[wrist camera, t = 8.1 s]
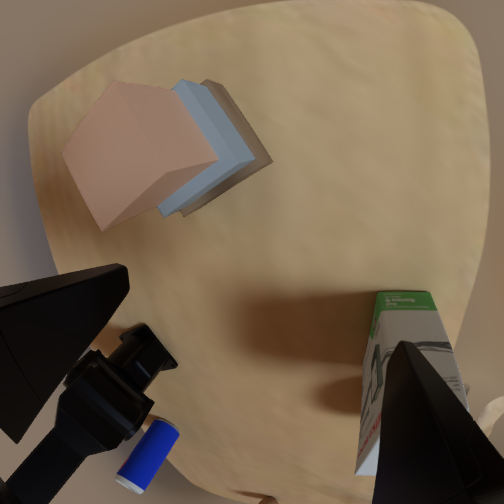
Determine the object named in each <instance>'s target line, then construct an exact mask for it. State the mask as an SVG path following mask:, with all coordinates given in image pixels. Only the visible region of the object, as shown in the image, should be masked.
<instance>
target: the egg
mask: <svg viewBox="0 0 504 504" xmlns="http://www.w3.org/2000/svg"><path fill="white" fill-rule="evenodd" d="M259 504H278V502H277V500H276V499H275V498H273V497H267V498H265V499H263V500H261V501H260V502H259Z"/></svg>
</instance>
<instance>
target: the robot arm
mask: <svg viewBox="0 0 504 504" xmlns="http://www.w3.org/2000/svg"><path fill="white" fill-rule="evenodd" d="M129 289H130V284H129V276H128V269H127V267H126V266H124V265H121V264H118V263H115V264H110V265H105V266H100V267H95V268H90V269H85V270H80V271H75V272H71V273H66V274H61V275H57V276H52V277H47V278H42V279H38V280H34V281H30V282H24V283H19V284H14V285H9V286H3V287H0V428H1V429H2V430H3V431H4V432H5V433H6V434H7V435H8V436H9V437H10V438H11V439H12V440H13V441H14V442H15V443H16V444H18V443H19V442H20V440H21V439H22V437H23V436H24V434H25V433H26V431H27V430H28V428H29V426H30V425H31V424H32V422H33V421H34V419H35V418H36V416H37V415H38V413H39V412H40V410H41V409H42V408H43V406H44V404H45V403H46V401H47V400H48V399H49V397H50V396H51V395H52V393H53V392H54V391H55V389H56V388H57V386H58V385H59V384H60V382H61V381H62V380H63V378H64V377H65V376H66V374H67V377H66V378H65V379H66V380H65V381H64V383H63V385H64V386H65V387H66V390H65V391H64V392H63V393H62V394H61V395H60V397H59V400H58V403H57V410H56V417H55V425H54V428H53V429H52V430H51V431H50V432H49V433H48V434H47V435H46V436H45V438H44V439H43V440H42V441H41V442H40V443H39V444H38V445H37V447H36V448H35V449H34V450H33V451H32V452H31V453H30V455H29V456H28V457H27V458H26V459H25V460H24V461H23V462H22V464H21V465H20V466H19V467H18V468H17V470H16V471H15V472H14V473H13V474H12V475H11V476H10V478H9V479H8V480H7V481H6V482H4V481H3V480H2V479H1V478H0V504H49V503H50V501H51V500H52V499H53V498H54V496H55V495H56V494H57V493H58V492H59V490H60V489H61V488H62V487H63V485H64V484H65V483H66V482H67V480H68V479H69V478H70V477H71V476H72V474H73V473H74V472H75V471H76V469H77V468H78V467H79V466H80V464H81V463H82V462H83V461H84V460H85V458H86V457H87V456H89V455H93V454H97V453H100V452H104V451H109V450H112V449H115V448H117V447H118V445H119V444H120V443H121V442H122V441H123V440H124V441H127V440H129V439H130V438H131V437H132V436H133V435H134V434H135V433H136V432H137V431H138V430H139V428H140V427H141V425H142V424H143V422H144V420H145V419H146V417H147V415H148V413H149V412H150V410H151V408H152V406H153V405H154V403H155V402H154V401H153V400H152V399H149V398H148V397H147V396H146V395H145V394H144V391H145V390H146V389H147V388H148V386H149V385H150V384H151V382H152V381H153V380H154V379H155V377H156V376H157V375H158V374H159V372H160V371H164V370H169V369H174V368H176V367H177V366H178V364H177V362H176V361H175V360H174V359H173V357H172V356H171V355H170V354H169V353H168V351H167V350H166V349H165V348H164V346H163V345H162V344H161V343H160V342H159V340H158V339H157V338H156V336H155V335H154V334H153V333H152V331H151V330H150V329H149V327H148V326H146V325H142V326H140V327H137V328H135V329H132V330H130V331H128V332H125V333H123V334H121V335H120V336H119V338H120V339H121V341H122V342H123V343H122V344H121V345H120V346H119V347H118V348H117V349H116V350H115V351H114V352H113V353H112V354H111V355H110V356H109V357H108V358H106V357H105V356H104V355H103V354H102V352H101V351H100V350H99V349H98V350H97V351H93V350H90V351H89V352H88V353H87V354H86V355H85V356H83V357H82V358H81V359H80V360H78V359H79V358H80V356H81V355H82V354H83V352H84V351H85V350H86V349H87V348H88V346H89V345H90V344H91V343H92V341H93V340H94V339H95V338H96V336H97V335H98V334H99V333H100V332H101V330H102V329H103V328H104V327H105V325H106V324H107V323H108V321H109V320H110V319H111V317H112V316H113V314H114V313H115V311H116V310H117V308H118V307H119V305H120V304H121V303H122V301H123V300H124V298H125V297H126V295H127V294H128V292H129ZM77 360H78V361H77ZM76 361H77V362H76ZM372 504H504V458H503V457H502V456H501V455H500V454H499V452H498V451H497V450H496V448H495V447H494V446H493V445H492V444H491V442H490V441H489V440H488V438H487V437H486V435H485V434H484V433H483V431H482V430H481V429H480V427H479V426H478V424H477V423H476V422H475V421H473V418H472V416H471V415H470V414H469V412H468V411H467V409H466V408H465V407H464V405H463V404H462V403H461V401H460V400H459V399H458V398H457V396H456V395H455V394H454V392H453V391H452V390H451V388H450V387H449V386H448V385H447V383H446V382H445V381H444V380H443V378H442V377H441V376H440V375H439V373H438V372H437V371H436V370H435V368H434V367H433V366H432V365H431V364H430V362H429V361H428V360H427V359H426V357H425V356H424V355H423V354H422V353H421V351H420V350H419V349H418V348H417V347H416V346H415V344H414V343H413V342H409V341H404V340H401V341H399V342H398V344H397V346H396V347H395V349H394V351H393V353H392V355H391V356H390V358H389V360H388V363H387V368H386V377H385V386H384V394H383V401H382V409H381V426H380V442H379V454H378V463H377V472H376V480H375V487H374V493H373V500H372Z"/></svg>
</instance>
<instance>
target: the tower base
mask: <svg viewBox="0 0 504 504" xmlns="http://www.w3.org/2000/svg"><path fill="white" fill-rule="evenodd" d="M201 85H204V86H206V87H207V88H208V90H209V91H210V92H211V94H212V95H213V97H214V98H215V99H216V101H217V102H218V104H219V105H220V107H221V108H222V109H223V111H224V112H225V114H226V115H227V117H228V118H229V120H230V121H231V123H232V124H233V125H234V127H235V128H236V130H237V131H238V133H239V134H240V136H241V137H242V139H243V140H244V142H245V143H246V145H247V146H248V148H249V150H250V151H251V153H252V154H253V156H254V157H255V160H254V161H252V162H250V163H249V164H247V165H246V166H244V167H243V168H241V169H240V170H238V171H237V172H235V173H234V174H232V175H231V176H229V177H228V178H227V179H225V180H224V181H222V182H221V183H219V184H218V185H216V186H215V187H214V188H212V189H211V190H209V191H208V192H206V193H205V194H204V195H202V196H201V197H199V198H198V199H197V200H195V201H194V202H193V203H191V204H190V205H188V206H187V207H185V208H183V209H181V210H180V211H181V213H182V215H183V216H184V217H185V216H187V215H189V214H190V213H192V212H194V211H196V210H198V209H200V208H201V207H203V206H204V205H206V204H207V203H209V202H210V201H212V200H213V199H215V198H216V197H218V196H219V195H221V194H223V193H224V192H226V191H227V190H229V189H230V188H232V187H233V186H235V185H237V184H238V183H240V182H241V181H243V180H245V179H246V178H248V177H249V176H251V175H253V174H254V173H256V172H257V171H259V170H261V169H262V168H264V167H266V166H267V165H269V164H271V163H272V162H273V160H272V159H271V157H270V156H269V154H268V152H267V151H266V149H265V148H264V146H263V144H262V143H261V141H260V140H259V138H258V137H257V135H256V134H255V132H254V130H253V129H252V127H251V126H250V124H249V123H248V121H247V120H246V118H245V117H244V115H243V114H242V112H241V111H240V109H239V108H238V106H237V105H236V103H235V102H234V101H233V99H232V98H231V96H230V95H229V93H228V92H227V90H226V89H225V88H224V86H223V85H222V84H219V83H216V82H214V81H211V80H208V79H206V80H205V81H204V82H202V83H201Z"/></svg>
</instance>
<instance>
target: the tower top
mask: <svg viewBox="0 0 504 504" xmlns="http://www.w3.org/2000/svg"><path fill="white" fill-rule="evenodd" d="M171 90H175V92H176V93H177V95H178V96H179V98H180V99H181V101H182V102H183V104H184V105H185V107H186V108H187V110H188V111H189V113H190V115H191V116H192V118H193V119H194V121H195V122H196V124H197V125H198V127H199V129H200V130H201V132H202V133H203V135H204V136H205V138H206V140H207V141H208V143H209V144H210V146H211V147H212V149H213V151H214V152H215V154H216V155H217V157H218V159H219V160H218V161H217V162H215V163H214V164H213V165H211V166H210V167H208V168H207V169H206V170H204V171H203V172H201V173H200V174H199V175H197V176H196V177H195V178H193V179H192V180H191V181H189V182H188V183H187V184H185V185H184V186H183V187H181V188H180V189H179V190H177V191H176V192H175V193H173V194H172V195H171V196H170V197H168V198H167V199H166V200H165V201H163V202H162V203H161V204H160V205H158V206H157V208H158V209H159V211H160V213H161V214H162V216H163V217H164V218H165V217H167V216H169V215H171V214H173V213H175V212H177V211H179V210H181V209H183V208H185V207H187V206H188V205H190V204H191V203H193V202H194V201H195V200H197V199H198V198H199V197H201V196H202V195H204V194H205V193H206V192H208V191H209V190H211V189H212V188H214V187H215V186H216V185H218V184H219V183H221V182H222V181H224V180H225V179H227V178H228V177H229V176H231V175H232V174H234V173H235V172H237V171H238V170H240V169H241V168H243V167H244V166H246V165H247V164H249V163H250V162H252V161H254V160H255V157H254V156H253V154H252V153H251V151H250V150H249V148H248V146H247V145H246V143H245V142H244V140H243V139H242V137H241V136H240V134H239V133H238V131H237V130H236V128H235V127H234V125H233V124H232V123H231V121H230V120H229V118H228V117H227V115H226V114H225V112H224V111H223V109H222V108H221V107H220V105H219V104H218V102H217V101H216V99H215V98H214V97H213V95H212V94H211V92H210V91H209V90H208V88H207V87H206V86H204V85H201V84H197V83H194V82H190V81H187V80H183V79H182V80H181V81H180V82H179V83H177V84H176V85H175V86H174V87H173V88H172V89H171Z"/></svg>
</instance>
